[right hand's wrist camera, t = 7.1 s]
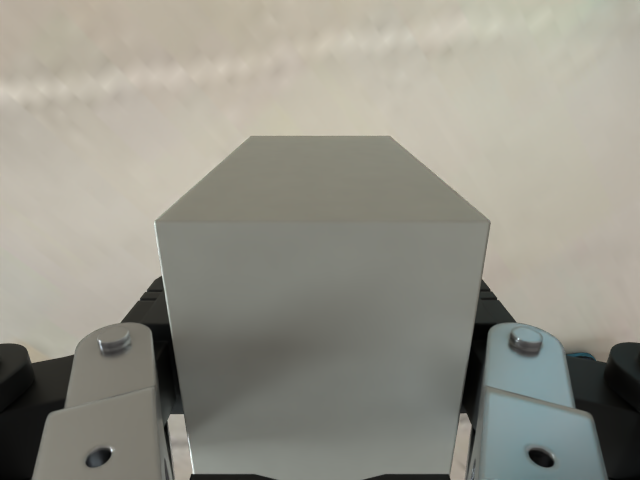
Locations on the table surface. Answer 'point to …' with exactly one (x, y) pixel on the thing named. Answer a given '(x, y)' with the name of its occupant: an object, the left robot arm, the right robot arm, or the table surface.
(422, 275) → the bar
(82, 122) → the table surface
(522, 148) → the table surface
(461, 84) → the table surface
